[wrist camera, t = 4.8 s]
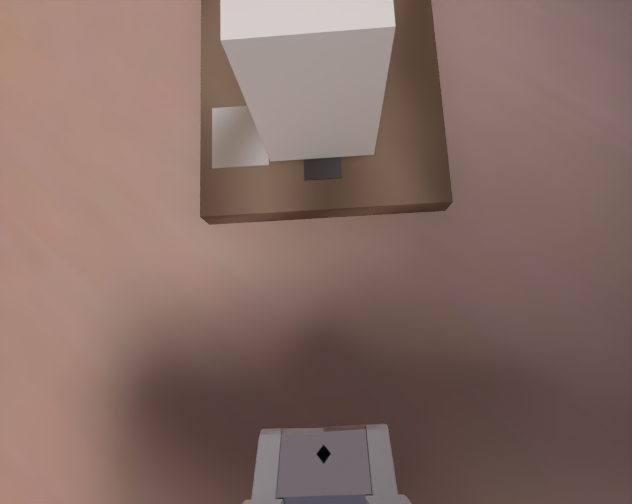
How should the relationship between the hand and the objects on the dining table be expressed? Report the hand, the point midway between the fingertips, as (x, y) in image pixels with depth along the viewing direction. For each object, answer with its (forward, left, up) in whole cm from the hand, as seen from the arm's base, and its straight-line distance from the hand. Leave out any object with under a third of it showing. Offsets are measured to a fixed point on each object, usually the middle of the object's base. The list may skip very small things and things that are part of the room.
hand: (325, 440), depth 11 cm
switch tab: (0, -12, -9) cm, 15 cm away
